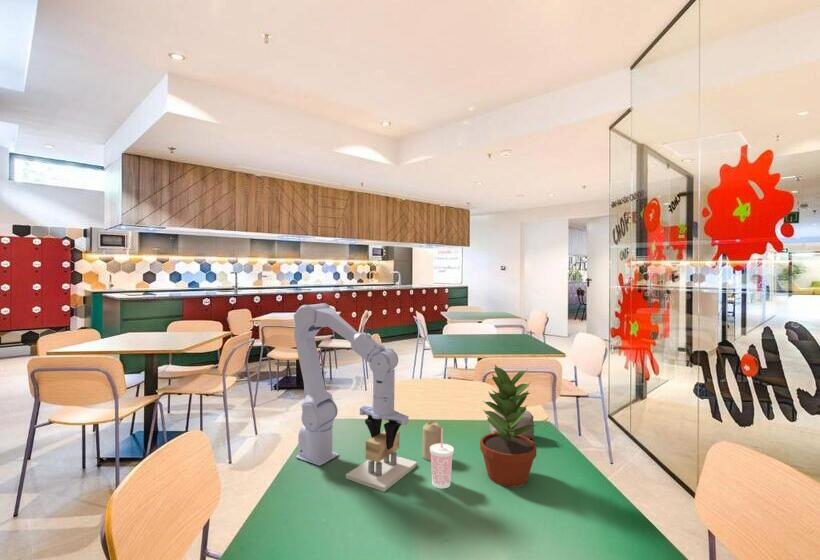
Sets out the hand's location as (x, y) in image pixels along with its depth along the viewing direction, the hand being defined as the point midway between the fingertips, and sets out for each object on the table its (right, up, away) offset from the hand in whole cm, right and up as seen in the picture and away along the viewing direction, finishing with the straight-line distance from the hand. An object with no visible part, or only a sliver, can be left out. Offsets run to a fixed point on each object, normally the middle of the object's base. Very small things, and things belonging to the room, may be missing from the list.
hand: (382, 446), depth 107 cm
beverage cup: (+15, -7, -6) cm, 18 cm away
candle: (+14, -7, +9) cm, 18 cm away
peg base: (0, -7, 0) cm, 7 cm away
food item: (+41, -8, +25) cm, 48 cm away
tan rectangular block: (0, -2, 0) cm, 2 cm away
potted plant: (+33, -8, -1) cm, 34 cm away
